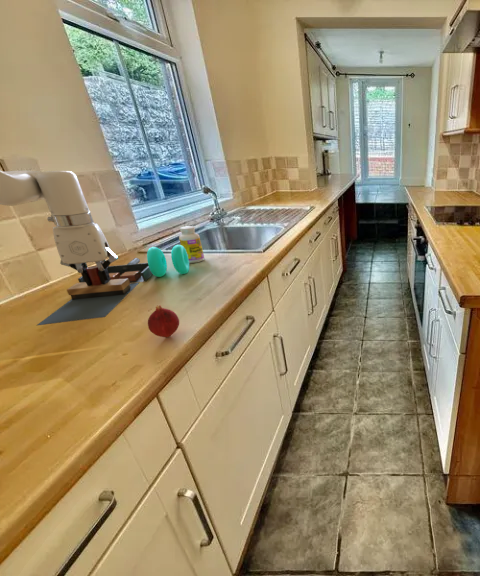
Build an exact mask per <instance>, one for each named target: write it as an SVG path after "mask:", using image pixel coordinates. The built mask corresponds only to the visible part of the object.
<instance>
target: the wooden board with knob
mask: <svg viewBox="0 0 480 576" xmlns="http://www.w3.org/2000/svg"><path fill="white" fill-rule="evenodd" d="M86 271H87V273H88V275H89V278H90V280H91V283H92V285H90V286H87V284H86V282H82V283H79V282H75V283H74V284H73V285H71V286H70V287H68V288H67V289H66V292H67V294H68V296H69V297H70V298H71V299H72V300H75V299H85V298H95V297H104V296H114V295H124V294H125V293H126V292H127V291H129V290H130V289H131V288H130V285H129V284H130V282H129V279H128V278H126V279H115V280H110V281H109V282H108V283H106V284H102V283H101V280H100V277H99V275H98V271H99V269H98V267H97V265H91V266H87V268H86Z"/></svg>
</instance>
